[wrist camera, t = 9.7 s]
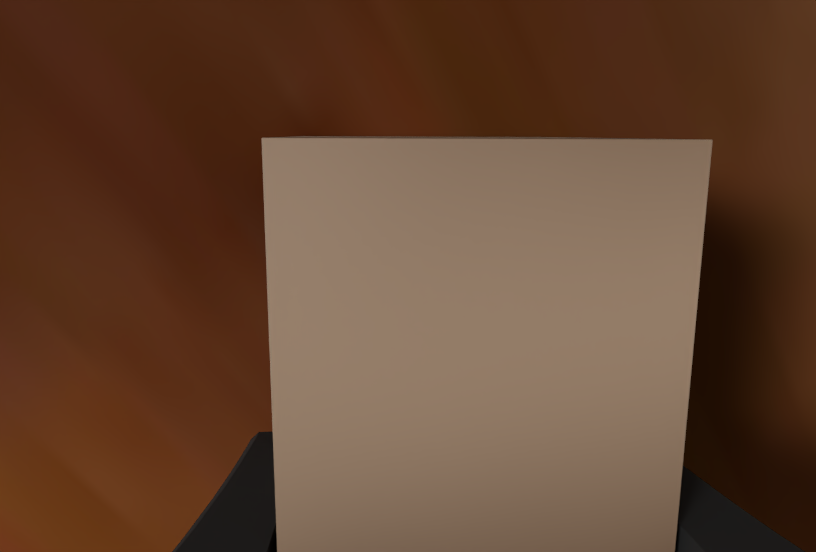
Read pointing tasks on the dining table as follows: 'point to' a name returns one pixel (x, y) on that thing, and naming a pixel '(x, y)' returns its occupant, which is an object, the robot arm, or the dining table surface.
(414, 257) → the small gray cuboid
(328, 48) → the dining table surface
